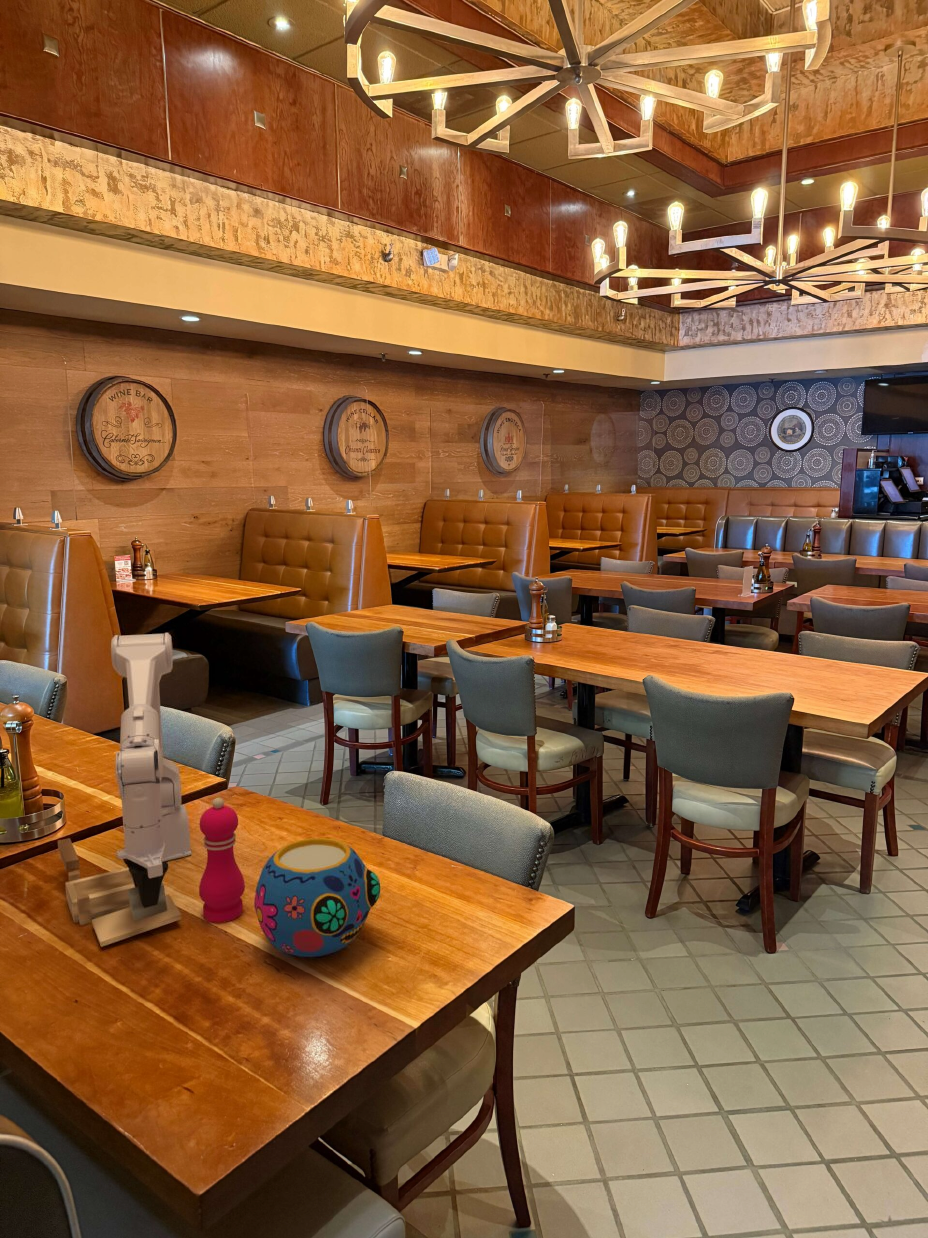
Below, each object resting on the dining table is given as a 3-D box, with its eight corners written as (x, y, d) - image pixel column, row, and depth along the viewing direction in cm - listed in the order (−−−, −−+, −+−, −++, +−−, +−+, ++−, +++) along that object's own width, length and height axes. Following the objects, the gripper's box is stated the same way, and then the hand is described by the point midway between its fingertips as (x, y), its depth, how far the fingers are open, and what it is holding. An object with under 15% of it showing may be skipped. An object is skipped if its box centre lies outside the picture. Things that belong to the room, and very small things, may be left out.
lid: (169, 898, 135) (165, 870, 134) (181, 919, 129) (177, 889, 128) (92, 924, 129) (87, 894, 128) (101, 947, 122) (96, 916, 121)
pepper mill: (233, 927, 129) (227, 808, 126) (191, 922, 131) (185, 804, 127) (253, 904, 136) (248, 791, 133) (214, 900, 138) (208, 788, 134)
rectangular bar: (70, 847, 147) (69, 838, 147) (79, 869, 139) (78, 859, 138) (58, 850, 146) (57, 840, 145) (66, 872, 138) (65, 862, 137)
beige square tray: (139, 880, 144) (138, 856, 144) (154, 906, 136) (152, 881, 135) (65, 898, 138) (63, 873, 137) (75, 927, 129) (73, 901, 128)
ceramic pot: (321, 994, 112) (319, 893, 110) (231, 955, 122) (227, 862, 119) (395, 935, 127) (395, 845, 125) (310, 904, 136) (308, 820, 134)
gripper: (106, 811, 131) (112, 889, 133) (125, 844, 119) (131, 929, 121) (152, 801, 135) (156, 878, 137) (174, 833, 123) (179, 915, 125)
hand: (147, 901), depth 129 cm, fingers closed on lid, 2 cm apart
